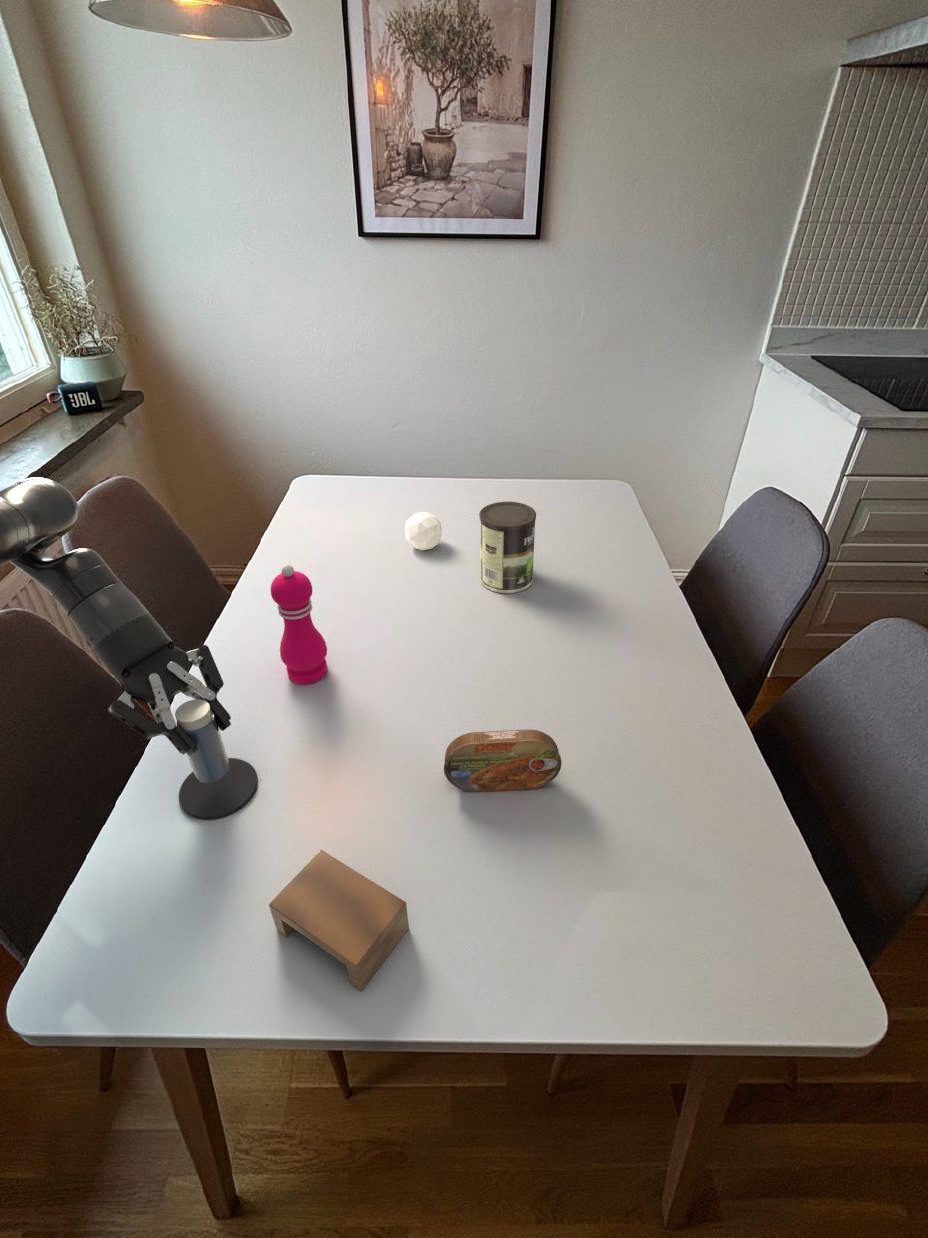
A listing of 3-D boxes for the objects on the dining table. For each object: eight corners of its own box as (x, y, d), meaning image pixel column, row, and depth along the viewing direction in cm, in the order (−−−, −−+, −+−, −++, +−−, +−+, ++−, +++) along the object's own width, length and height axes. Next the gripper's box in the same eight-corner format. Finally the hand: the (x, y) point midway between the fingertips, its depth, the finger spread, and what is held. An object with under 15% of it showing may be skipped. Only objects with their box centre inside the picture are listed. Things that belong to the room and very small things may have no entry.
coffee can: (537, 568, 134) (540, 503, 126) (527, 597, 126) (530, 529, 118) (486, 562, 137) (486, 498, 128) (473, 589, 129) (473, 523, 120)
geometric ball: (415, 557, 145) (398, 523, 144) (449, 540, 144) (432, 505, 144) (414, 557, 137) (395, 521, 136) (449, 539, 137) (431, 503, 136)
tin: (445, 793, 89) (442, 748, 84) (444, 775, 92) (442, 729, 87) (559, 789, 89) (564, 743, 84) (556, 770, 92) (560, 725, 87)
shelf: (361, 992, 68) (356, 966, 66) (276, 930, 74) (268, 904, 71) (409, 928, 74) (406, 902, 71) (327, 875, 79) (321, 849, 76)
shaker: (210, 788, 86) (189, 728, 80) (187, 774, 88) (165, 714, 82) (237, 766, 89) (219, 706, 83) (214, 752, 91) (195, 693, 85)
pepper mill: (316, 652, 114) (296, 547, 102) (339, 673, 109) (321, 566, 98) (277, 671, 110) (252, 564, 98) (299, 693, 106) (275, 584, 94)
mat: (214, 832, 85) (213, 829, 84) (163, 798, 89) (162, 795, 89) (273, 780, 91) (273, 777, 91) (223, 750, 96) (222, 747, 96)
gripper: (69, 650, 74) (170, 771, 76) (178, 590, 84) (265, 698, 86) (59, 671, 80) (153, 784, 81) (162, 612, 90) (245, 713, 91)
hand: (210, 739), depth 84 cm, fingers closed on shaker, 4 cm apart
